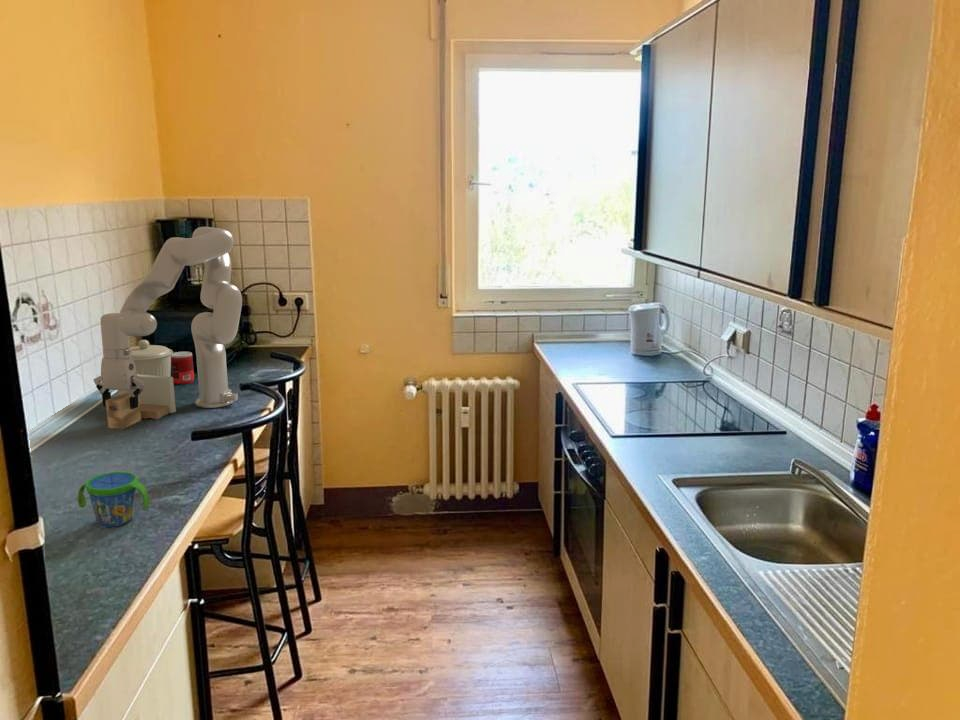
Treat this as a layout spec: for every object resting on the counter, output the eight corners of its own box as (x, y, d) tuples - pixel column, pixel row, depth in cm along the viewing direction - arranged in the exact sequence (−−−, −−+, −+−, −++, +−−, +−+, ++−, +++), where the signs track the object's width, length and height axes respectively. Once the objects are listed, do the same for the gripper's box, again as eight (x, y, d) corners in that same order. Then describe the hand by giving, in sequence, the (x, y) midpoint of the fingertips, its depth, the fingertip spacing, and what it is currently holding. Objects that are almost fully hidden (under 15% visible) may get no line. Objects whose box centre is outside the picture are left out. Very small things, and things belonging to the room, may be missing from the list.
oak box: (141, 420, 245) (138, 393, 242) (121, 430, 236) (118, 402, 233) (127, 419, 246) (124, 392, 243) (107, 428, 237) (104, 401, 234)
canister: (186, 392, 275) (181, 335, 270) (160, 407, 258) (154, 346, 253) (138, 390, 277) (132, 333, 272) (110, 405, 260) (103, 345, 255)
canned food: (198, 379, 292) (195, 351, 289) (188, 385, 284) (185, 356, 282) (178, 378, 293) (176, 351, 290) (168, 384, 285) (166, 355, 282)
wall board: (176, 411, 253) (172, 377, 250) (160, 419, 245) (156, 383, 242) (123, 407, 258) (119, 373, 255) (106, 414, 250) (102, 379, 247)
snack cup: (160, 514, 179) (156, 473, 176) (133, 534, 169) (129, 492, 166) (99, 508, 181) (94, 469, 179) (69, 528, 171) (64, 486, 169)
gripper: (149, 353, 237) (152, 406, 241) (100, 349, 240) (105, 401, 244) (133, 358, 230) (137, 412, 233) (83, 353, 233) (88, 407, 237)
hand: (120, 406), depth 239 cm, fingers open, 9 cm apart
